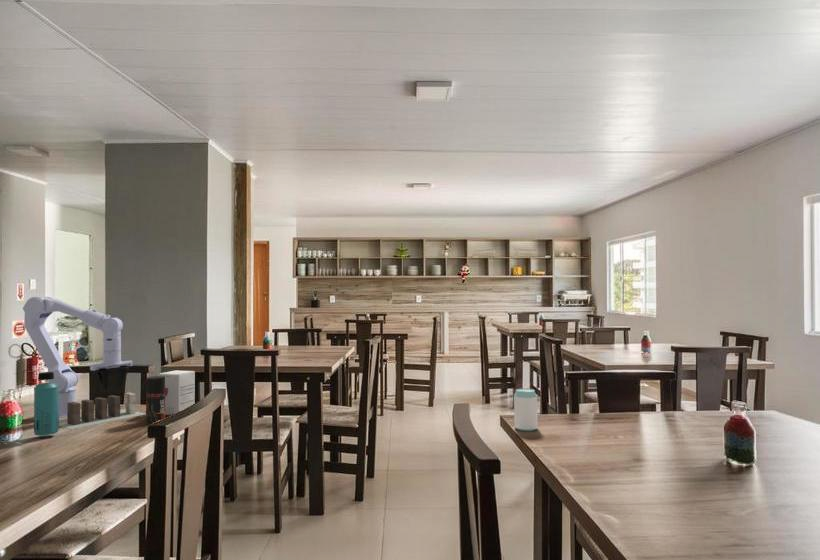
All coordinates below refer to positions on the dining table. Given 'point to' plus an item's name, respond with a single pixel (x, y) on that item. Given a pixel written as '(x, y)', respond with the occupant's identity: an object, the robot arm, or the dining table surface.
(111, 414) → the tile
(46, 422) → the beverage bottle
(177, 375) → the supplement box
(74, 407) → the tile
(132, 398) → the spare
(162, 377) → the deodorant
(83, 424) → the mat
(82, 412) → the tile
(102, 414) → the tile
